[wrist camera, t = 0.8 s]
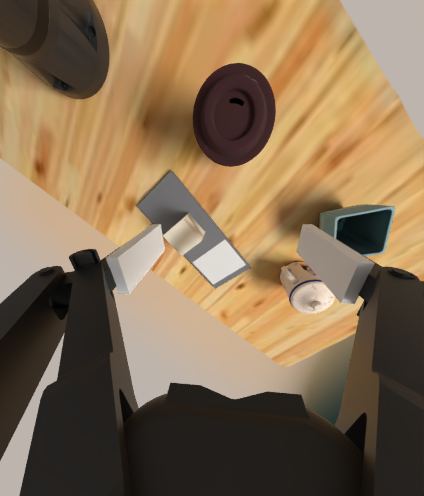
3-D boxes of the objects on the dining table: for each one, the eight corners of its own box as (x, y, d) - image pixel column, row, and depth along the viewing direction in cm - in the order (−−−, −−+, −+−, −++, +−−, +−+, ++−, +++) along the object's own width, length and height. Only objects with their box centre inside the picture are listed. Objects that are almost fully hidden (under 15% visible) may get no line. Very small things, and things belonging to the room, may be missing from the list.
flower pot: (350, 236, 37) (385, 254, 28) (309, 243, 38) (331, 261, 30) (355, 198, 33) (396, 205, 25) (310, 207, 35) (335, 216, 27)
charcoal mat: (138, 205, 38) (136, 206, 38) (172, 170, 34) (170, 170, 34) (215, 286, 46) (215, 288, 46) (250, 266, 42) (250, 267, 42)
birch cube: (171, 227, 39) (162, 235, 34) (189, 212, 37) (182, 218, 32) (188, 245, 41) (181, 255, 35) (205, 231, 39) (201, 240, 33)
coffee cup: (229, 180, 34) (229, 183, 20) (196, 141, 32) (172, 116, 18) (267, 141, 30) (298, 113, 17) (233, 94, 28) (238, 19, 15)
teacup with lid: (322, 274, 41) (354, 307, 31) (293, 293, 45) (313, 330, 34) (291, 246, 39) (314, 272, 28) (263, 269, 42) (275, 300, 32)
